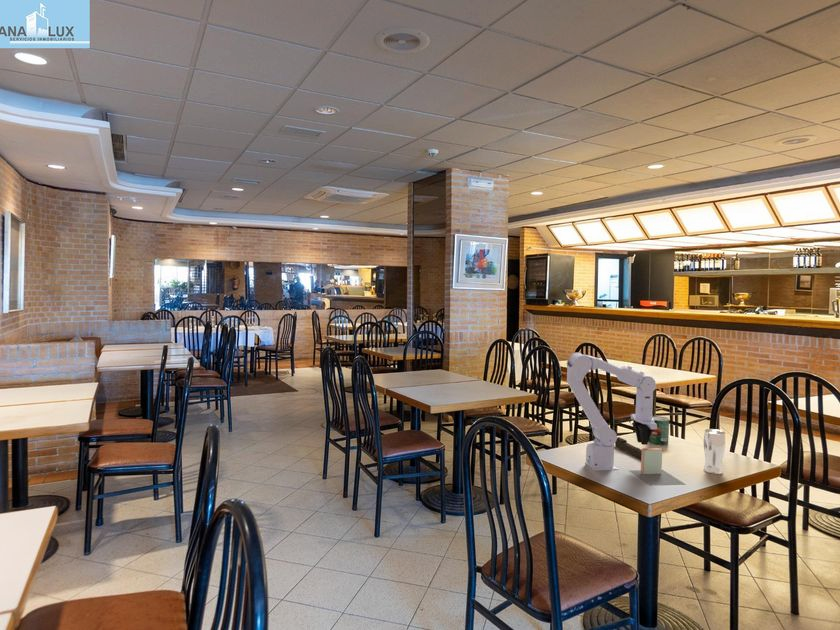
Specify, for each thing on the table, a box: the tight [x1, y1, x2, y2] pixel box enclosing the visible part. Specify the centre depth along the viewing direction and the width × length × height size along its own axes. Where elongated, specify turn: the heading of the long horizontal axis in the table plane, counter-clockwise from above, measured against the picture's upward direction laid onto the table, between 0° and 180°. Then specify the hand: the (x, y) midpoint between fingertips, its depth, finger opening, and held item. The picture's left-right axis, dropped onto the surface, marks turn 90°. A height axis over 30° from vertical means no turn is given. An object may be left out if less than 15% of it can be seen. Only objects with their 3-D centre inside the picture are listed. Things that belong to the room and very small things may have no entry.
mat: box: [629, 469, 687, 486], centre depth 182 cm, size 13×14×1 cm
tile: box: [640, 447, 663, 474], centre depth 185 cm, size 7×2×9 cm, turn 96°
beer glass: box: [703, 428, 726, 475], centre depth 189 cm, size 7×7×15 cm
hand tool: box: [614, 436, 642, 461], centre depth 210 cm, size 19×4×5 cm, turn 11°
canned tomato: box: [648, 415, 670, 447], centre depth 223 cm, size 8×8×11 cm
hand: (642, 443), depth 192 cm, fingers open, 2 cm apart
